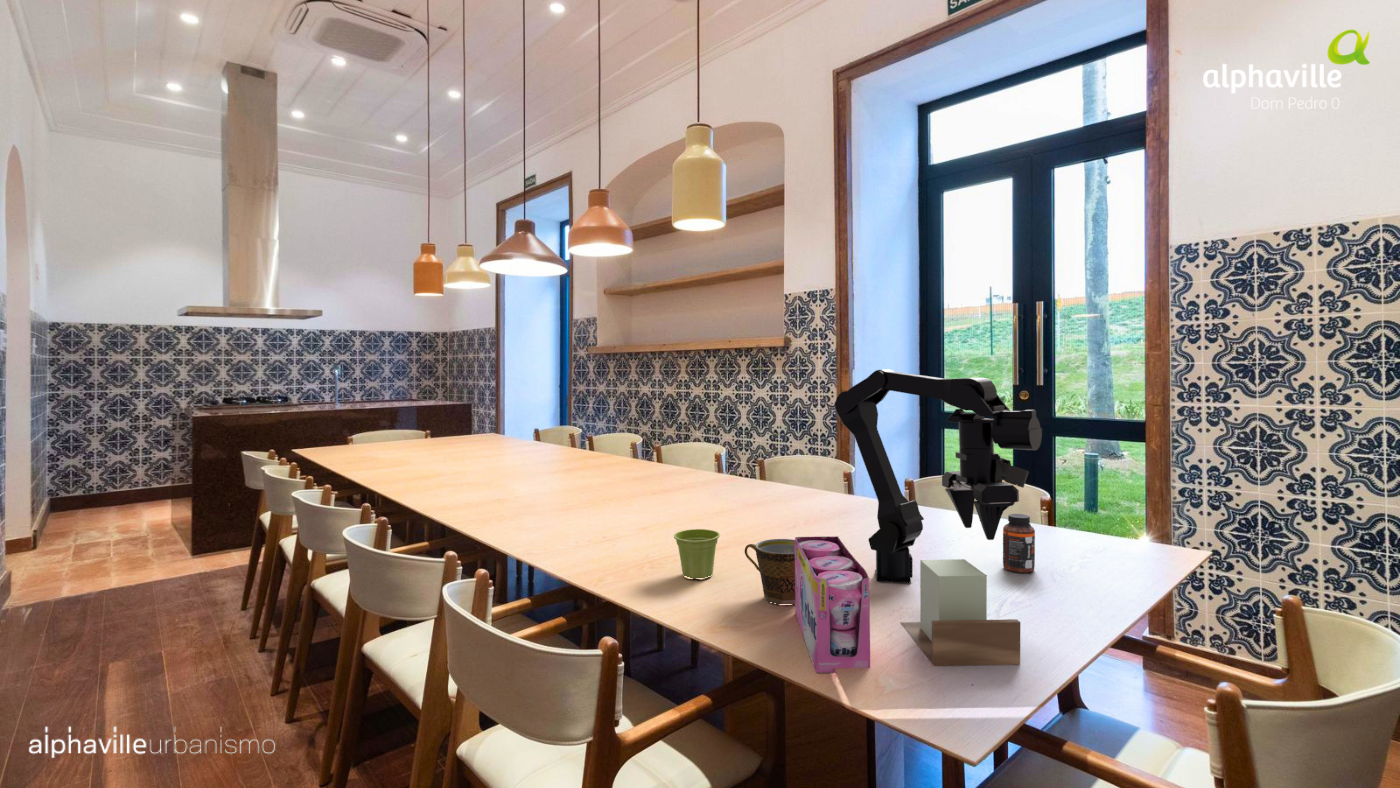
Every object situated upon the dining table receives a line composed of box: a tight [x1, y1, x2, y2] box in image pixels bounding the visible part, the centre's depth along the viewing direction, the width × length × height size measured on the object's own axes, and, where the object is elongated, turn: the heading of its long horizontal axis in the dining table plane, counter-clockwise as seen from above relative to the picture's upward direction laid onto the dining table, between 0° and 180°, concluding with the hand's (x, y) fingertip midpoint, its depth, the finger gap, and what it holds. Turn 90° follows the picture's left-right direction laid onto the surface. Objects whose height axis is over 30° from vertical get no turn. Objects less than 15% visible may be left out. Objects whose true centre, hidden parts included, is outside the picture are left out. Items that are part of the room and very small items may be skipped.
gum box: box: [794, 536, 871, 674], centre depth 101 cm, size 24×8×14 cm, turn 179°
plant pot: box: [673, 528, 721, 578], centre depth 133 cm, size 9×9×9 cm
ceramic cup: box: [744, 538, 795, 604], centre depth 120 cm, size 13×10×10 cm
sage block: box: [919, 558, 988, 641], centre depth 99 cm, size 8×7×11 cm
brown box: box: [900, 618, 1021, 667], centre depth 98 cm, size 15×12×7 cm
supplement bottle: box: [1002, 513, 1036, 574], centre depth 135 cm, size 6×6×11 cm
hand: (978, 533), depth 117 cm, fingers open, 9 cm apart
